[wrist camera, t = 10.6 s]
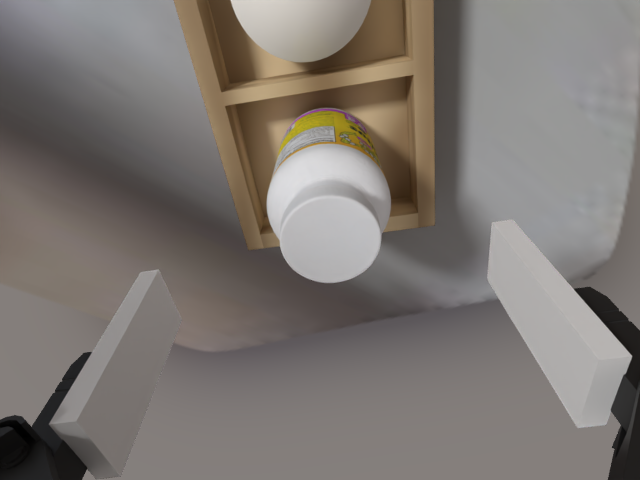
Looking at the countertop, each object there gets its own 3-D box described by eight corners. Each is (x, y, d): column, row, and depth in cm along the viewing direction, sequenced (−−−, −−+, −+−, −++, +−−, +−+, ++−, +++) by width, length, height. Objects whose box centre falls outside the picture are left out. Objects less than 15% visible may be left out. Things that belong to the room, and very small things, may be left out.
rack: (255, 225, 34) (248, 250, 30) (160, -116, 22) (133, -135, 19) (423, 202, 32) (435, 225, 29) (414, -170, 21) (432, -200, 18)
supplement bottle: (381, 178, 30) (417, 281, 19) (299, 203, 31) (288, 314, 20) (357, 90, 27) (384, 154, 16) (266, 121, 28) (232, 201, 17)
